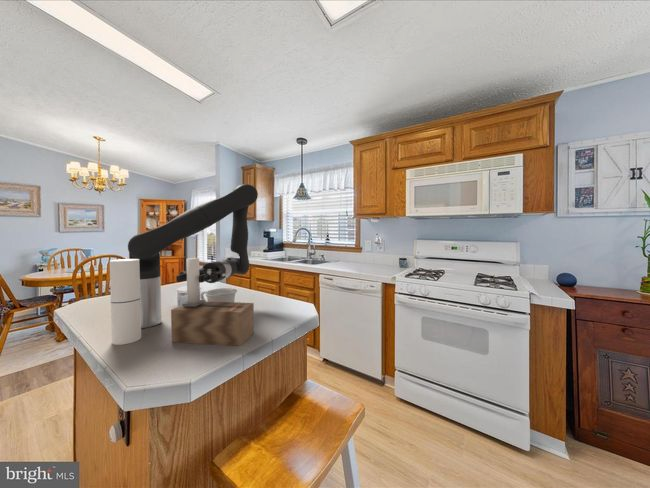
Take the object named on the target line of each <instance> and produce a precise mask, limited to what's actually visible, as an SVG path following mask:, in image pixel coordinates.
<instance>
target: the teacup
mask: <svg viewBox="0 0 650 488" xmlns="http://www.w3.org/2000/svg"><path fill="white" fill-rule="evenodd" d="M237 292H238V290H237V289H236V288H232V287H231V288H229V287H226V288H215V289H209V290H207V291H206V290H203V291H202V292H200V300H205V301H206V302H235V298H236V293H237ZM204 295H205V296H206V298H205V297H204Z"/></svg>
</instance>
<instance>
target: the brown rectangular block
mask: <svg viewBox="0 0 650 488" xmlns="http://www.w3.org/2000/svg"><path fill="white" fill-rule="evenodd" d="M254 308H255V307H254V302H235V301H234V302H206V301H205V303H202V304H200V305H198V306H196V307H188V306H182V304H181V305H180V306H176V307H173V308H171V309H170V316H171V317H170V318H171V319H170V320H171V321H170V322H171V326H170V327H171V343H182V344H183V343H185V344H198V345H199V344H204V345H221V346H242V345H243V344H244V343H245V342H246V341H247V340H248V339H249V338H250V337H251V336H252V335H253V334H254V331H255V328H254V327H255V324H254V322H255V321H254V319H255V317H254V315H255V311H254Z"/></svg>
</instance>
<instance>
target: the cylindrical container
mask: <svg viewBox="0 0 650 488" xmlns="http://www.w3.org/2000/svg"><path fill="white" fill-rule="evenodd" d="M109 284H110V285H109V287H110V288H109V289H110V314H111V315H110V319H111V344H112V345H114V346H121V345H127V344H131V343H135V342H137V341H140V340H141V339H142V328H141V305H140V266H139V259H129V258H125V259H124V258H121V259H111V260H109Z"/></svg>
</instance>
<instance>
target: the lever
mask: <svg viewBox="0 0 650 488" xmlns="http://www.w3.org/2000/svg"><path fill="white" fill-rule="evenodd" d="M199 269H200V258H199V257H192V258H191V257H190V258H189V257H188V258H186V271H187V280H186V297H187V298H186V301H185V302H182V303H181V305H182V306H188V307H196V306H198V305H200V304H202V303H205V300H201V297H200V296H201V290H200V288H201V287H200V285H201V284H200V283H199Z"/></svg>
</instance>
